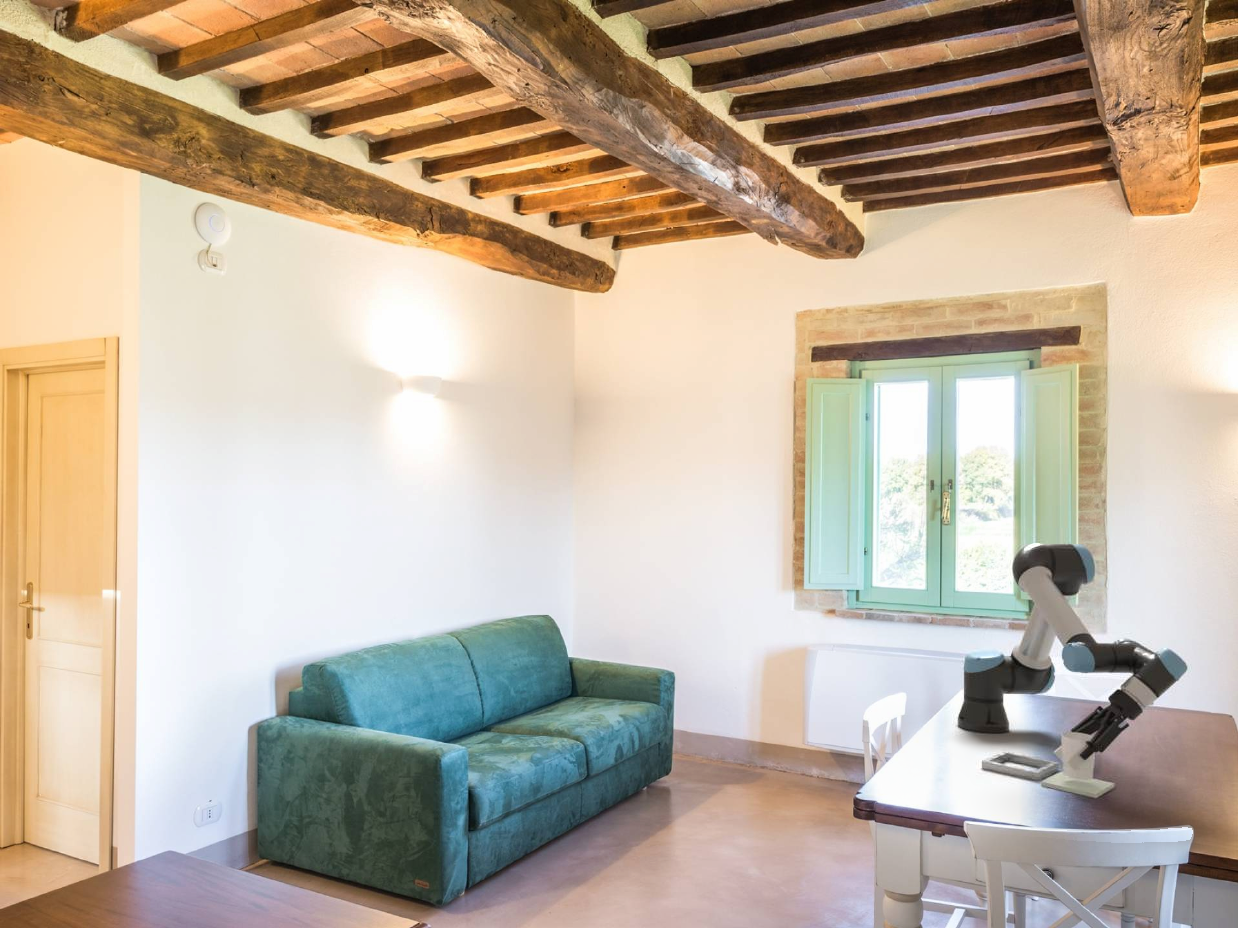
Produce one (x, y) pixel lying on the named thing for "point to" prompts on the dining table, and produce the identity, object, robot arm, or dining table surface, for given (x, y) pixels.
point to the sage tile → (1078, 785)
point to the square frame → (1038, 774)
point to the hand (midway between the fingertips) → (1064, 760)
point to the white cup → (1069, 747)
